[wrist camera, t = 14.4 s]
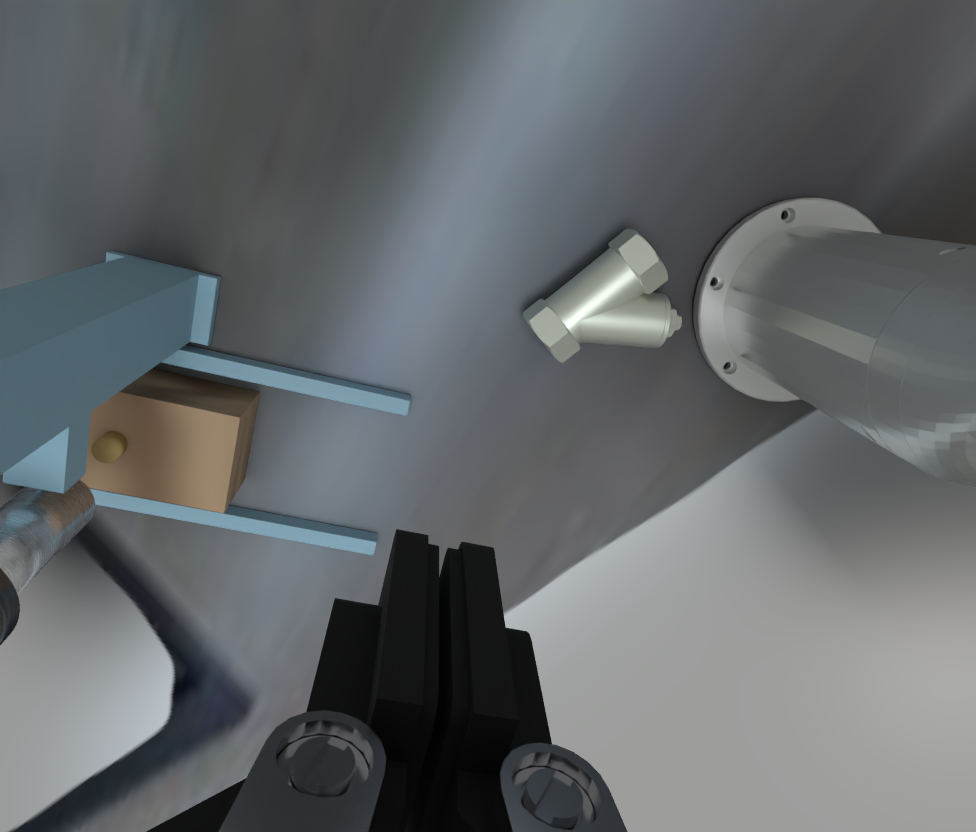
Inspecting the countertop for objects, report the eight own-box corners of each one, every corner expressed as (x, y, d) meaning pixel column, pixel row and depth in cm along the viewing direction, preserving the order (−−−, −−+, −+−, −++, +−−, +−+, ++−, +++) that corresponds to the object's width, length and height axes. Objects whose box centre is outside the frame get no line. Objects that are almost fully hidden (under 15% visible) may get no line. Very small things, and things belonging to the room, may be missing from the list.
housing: (260, 391, 43) (234, 425, 37) (245, 477, 44) (218, 523, 39) (125, 361, 41) (75, 391, 35) (114, 451, 43) (66, 494, 37)
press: (426, 326, 42) (430, 501, 19) (374, 546, 47) (327, 893, 24) (65, 239, 39) (-441, 327, 16) (47, 485, 43) (-366, 823, 21)
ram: (117, 467, 32) (-4, 581, 23) (108, 552, 33) (-9, 692, 24) (10, 446, 31) (-157, 556, 22) (6, 535, 33) (-155, 672, 24)
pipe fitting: (680, 309, 44) (622, 225, 41) (706, 325, 40) (645, 234, 38) (580, 387, 45) (518, 309, 42) (596, 410, 41) (530, 327, 39)
